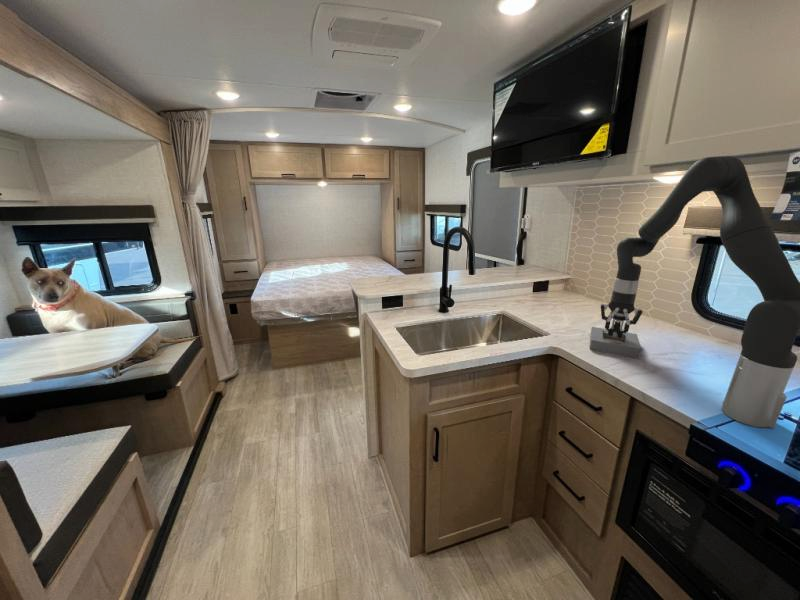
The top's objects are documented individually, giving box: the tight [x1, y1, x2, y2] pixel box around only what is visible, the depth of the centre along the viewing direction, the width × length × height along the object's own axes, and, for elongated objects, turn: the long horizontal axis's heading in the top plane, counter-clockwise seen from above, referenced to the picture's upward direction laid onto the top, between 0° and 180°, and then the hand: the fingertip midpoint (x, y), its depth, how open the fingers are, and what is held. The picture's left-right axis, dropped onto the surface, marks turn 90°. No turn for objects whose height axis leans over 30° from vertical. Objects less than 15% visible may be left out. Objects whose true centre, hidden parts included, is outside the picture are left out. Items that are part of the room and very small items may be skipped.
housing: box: [589, 326, 642, 360], centre depth 128 cm, size 16×16×4 cm
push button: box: [604, 313, 627, 338], centre depth 126 cm, size 7×5×10 cm
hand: (615, 331), depth 126 cm, fingers closed on push button, 5 cm apart
